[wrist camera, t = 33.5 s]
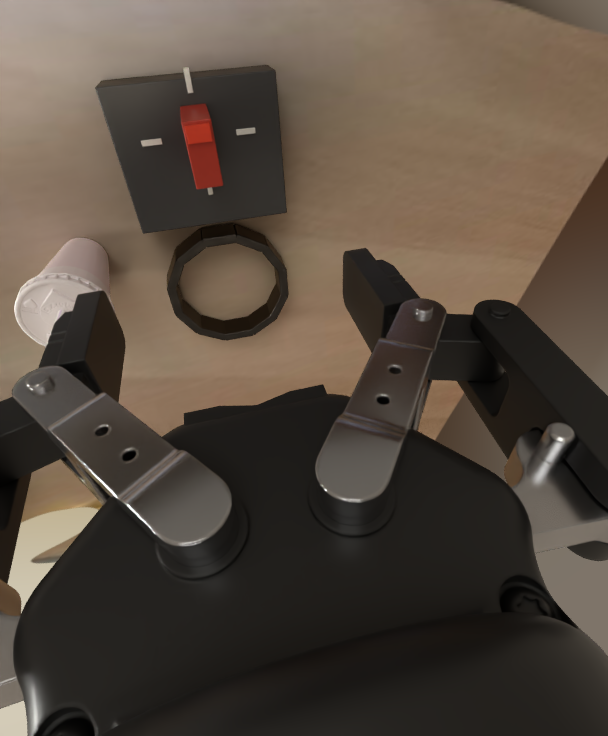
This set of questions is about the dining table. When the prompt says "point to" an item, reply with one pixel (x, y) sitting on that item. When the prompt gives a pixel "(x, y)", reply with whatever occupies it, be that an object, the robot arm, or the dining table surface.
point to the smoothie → (61, 287)
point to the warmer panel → (169, 151)
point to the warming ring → (234, 326)
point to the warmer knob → (201, 145)
